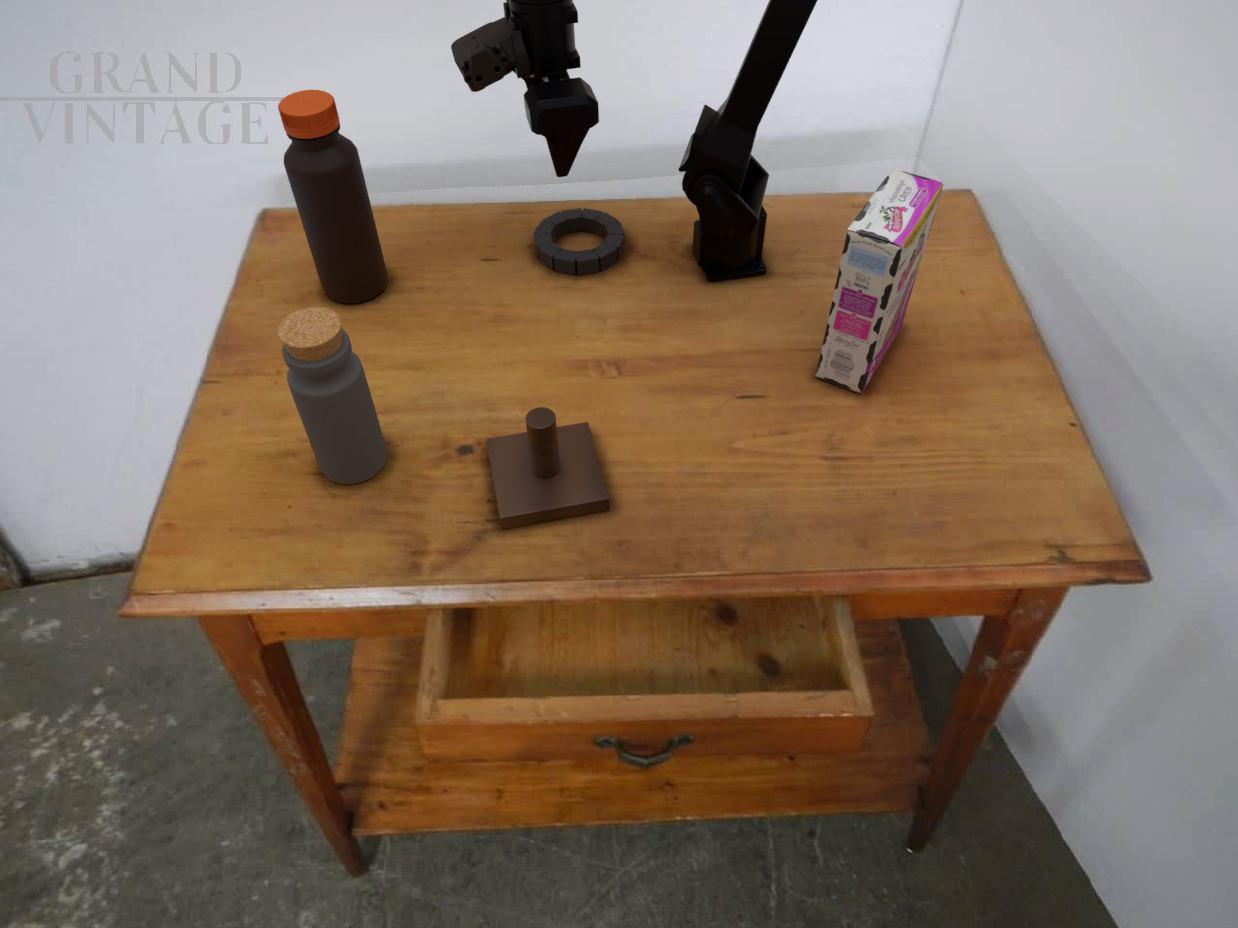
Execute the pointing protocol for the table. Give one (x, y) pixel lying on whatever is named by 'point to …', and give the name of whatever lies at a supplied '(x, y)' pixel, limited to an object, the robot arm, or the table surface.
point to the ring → (583, 259)
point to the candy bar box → (877, 277)
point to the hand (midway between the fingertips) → (553, 152)
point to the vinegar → (332, 198)
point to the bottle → (332, 396)
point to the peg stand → (546, 472)
